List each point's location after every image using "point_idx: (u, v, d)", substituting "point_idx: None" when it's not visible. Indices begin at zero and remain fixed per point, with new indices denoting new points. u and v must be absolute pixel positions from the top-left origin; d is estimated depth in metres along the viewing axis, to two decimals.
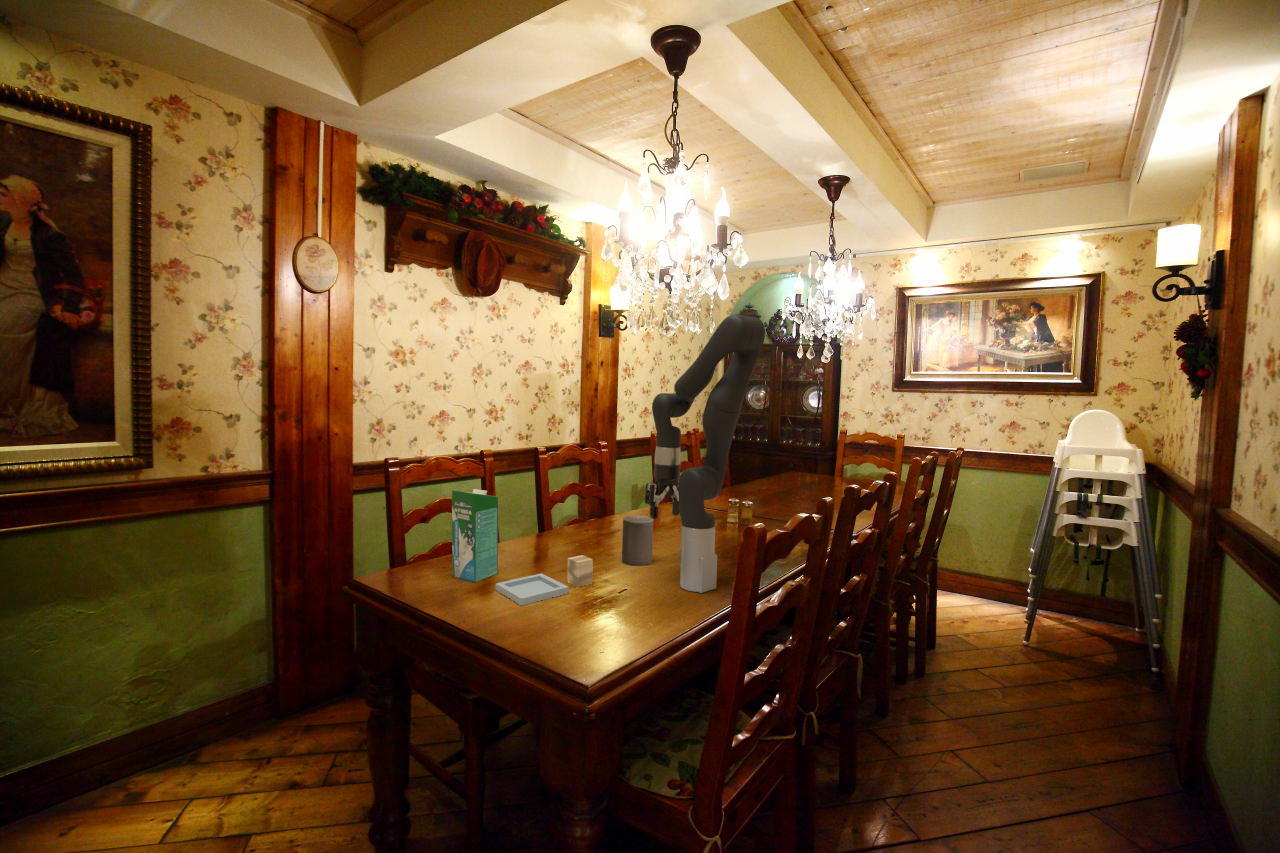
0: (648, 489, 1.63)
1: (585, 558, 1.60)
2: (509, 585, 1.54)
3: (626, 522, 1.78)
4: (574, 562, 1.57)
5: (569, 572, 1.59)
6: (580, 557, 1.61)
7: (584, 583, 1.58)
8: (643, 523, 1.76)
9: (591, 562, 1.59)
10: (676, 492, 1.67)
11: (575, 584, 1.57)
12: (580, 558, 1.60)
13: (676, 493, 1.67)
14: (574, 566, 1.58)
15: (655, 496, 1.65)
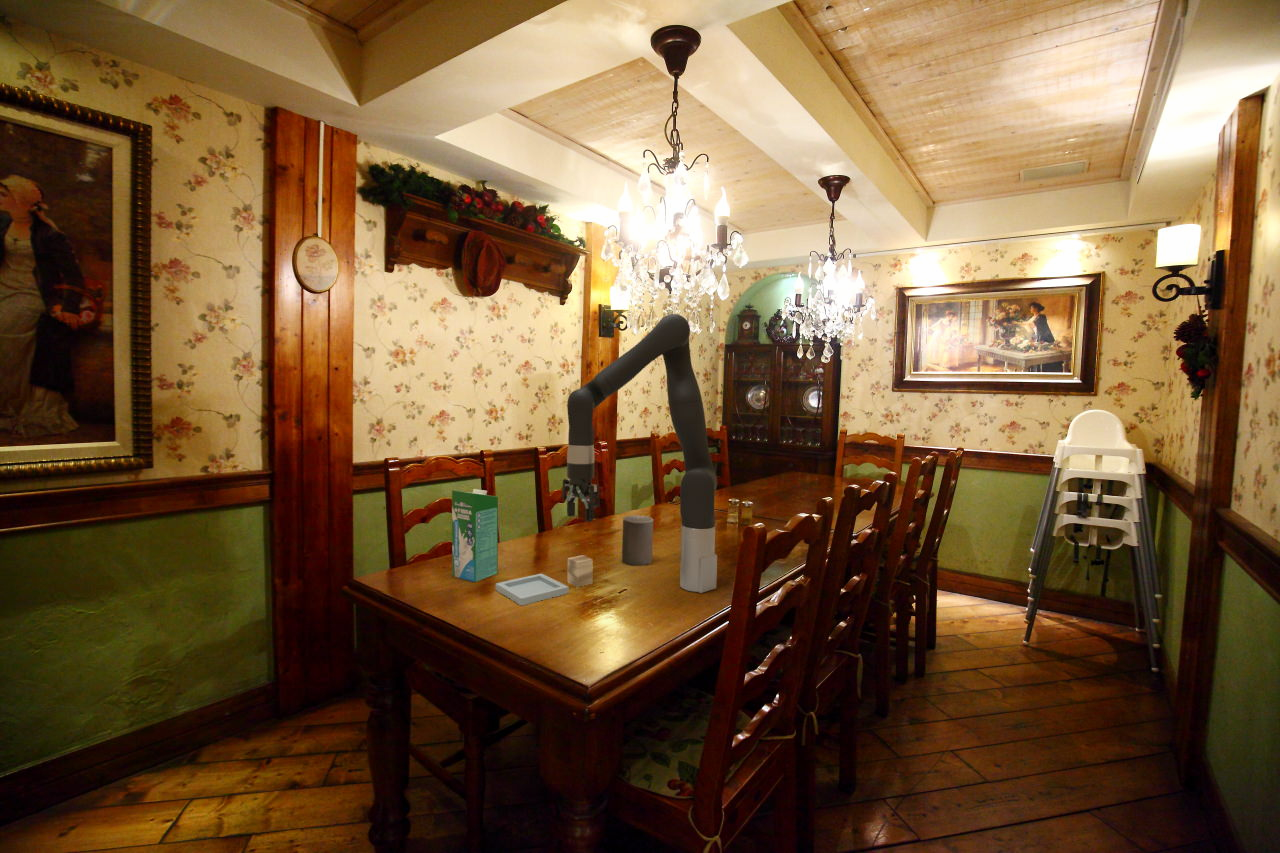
0: (595, 491, 1.54)
1: (585, 558, 1.60)
2: (509, 585, 1.54)
3: (626, 522, 1.78)
4: (574, 562, 1.57)
5: (569, 572, 1.59)
6: (580, 557, 1.61)
7: (584, 583, 1.58)
8: (643, 523, 1.76)
9: (591, 562, 1.59)
10: None
11: (575, 584, 1.57)
12: (580, 558, 1.60)
13: None
14: (574, 566, 1.58)
15: (588, 498, 1.57)
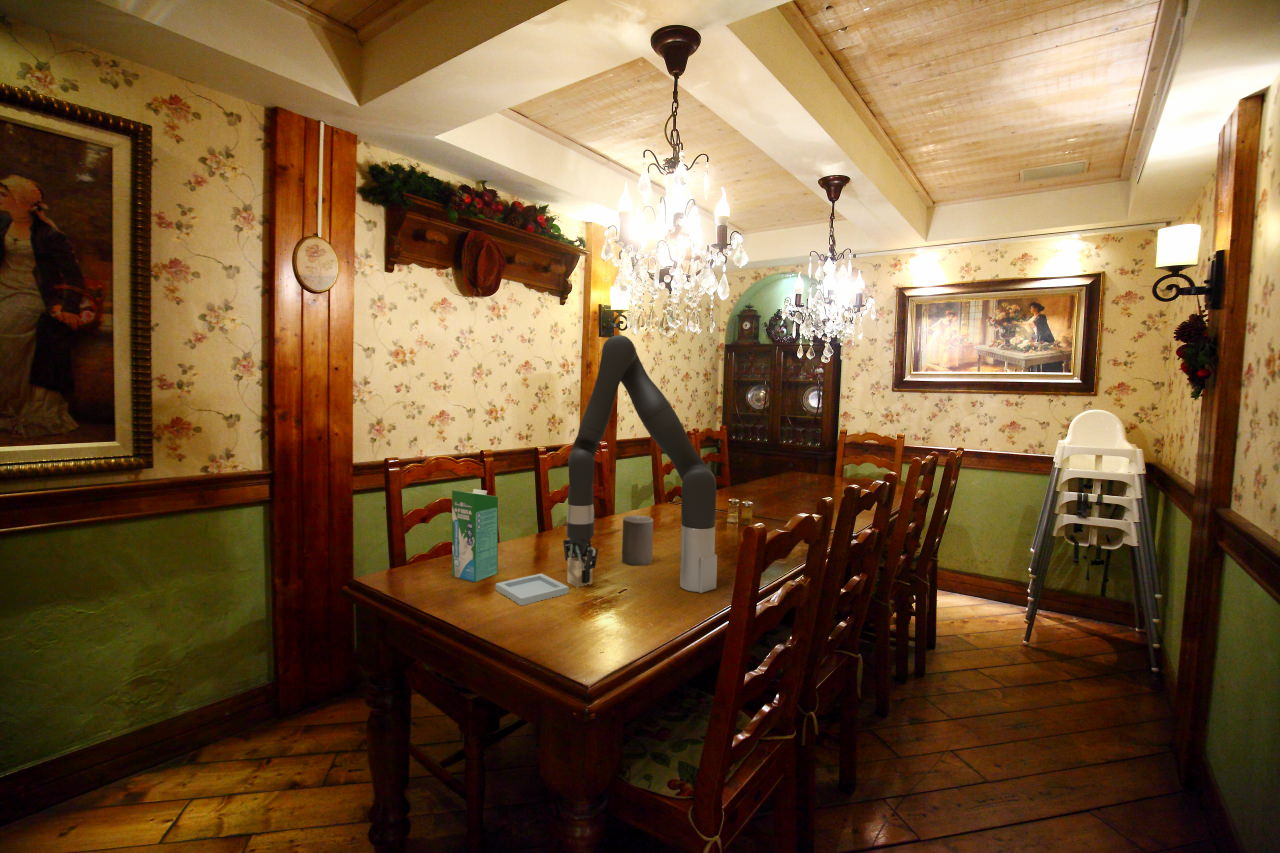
0: (593, 555, 1.55)
1: None
2: (509, 585, 1.54)
3: (626, 522, 1.78)
4: (574, 561, 1.57)
5: (569, 572, 1.59)
6: None
7: (584, 583, 1.58)
8: (643, 523, 1.76)
9: (591, 562, 1.59)
10: None
11: (575, 584, 1.57)
12: None
13: None
14: (574, 566, 1.58)
15: (585, 559, 1.57)
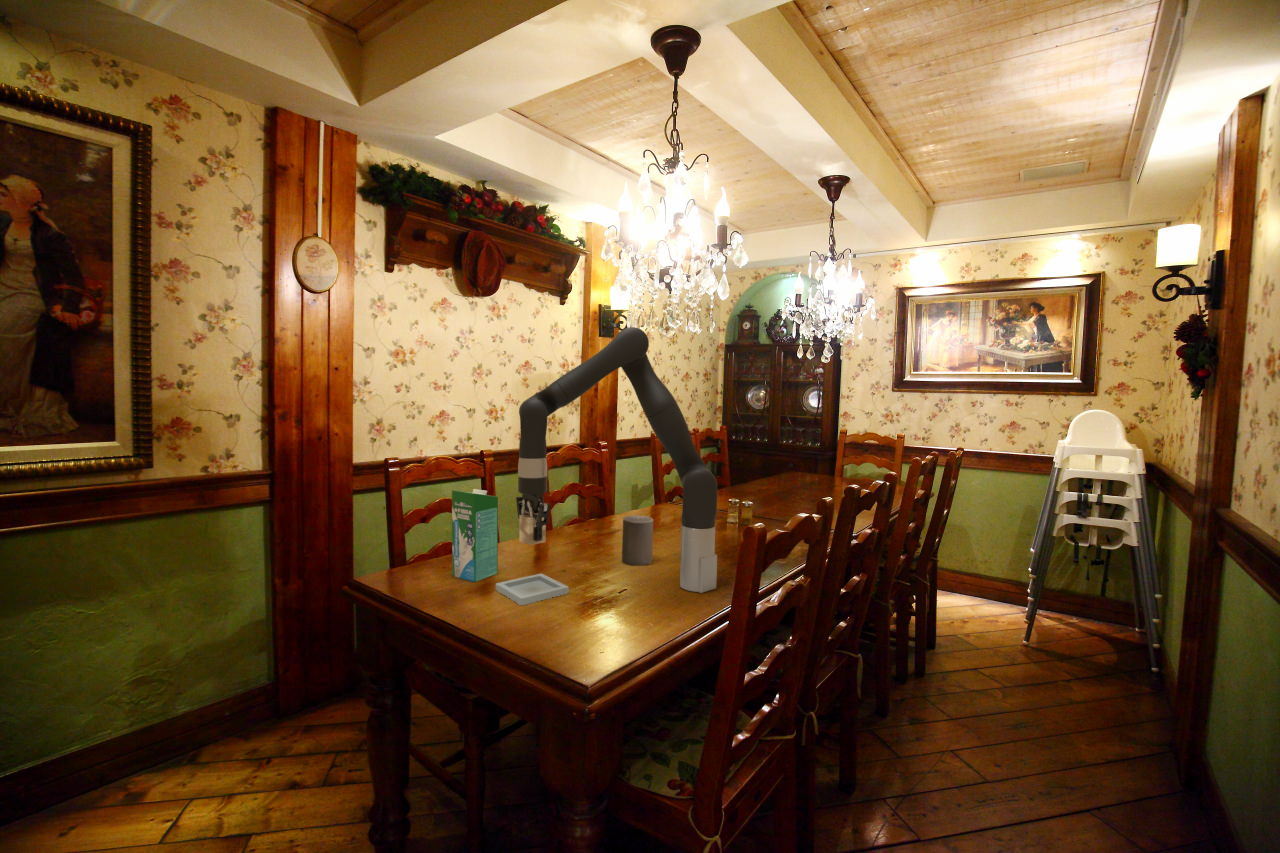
0: (544, 510, 1.46)
1: None
2: (509, 585, 1.54)
3: (626, 522, 1.78)
4: (525, 518, 1.49)
5: (521, 529, 1.51)
6: None
7: (536, 541, 1.50)
8: (643, 523, 1.76)
9: None
10: None
11: (526, 542, 1.49)
12: None
13: None
14: (525, 523, 1.49)
15: (537, 515, 1.49)
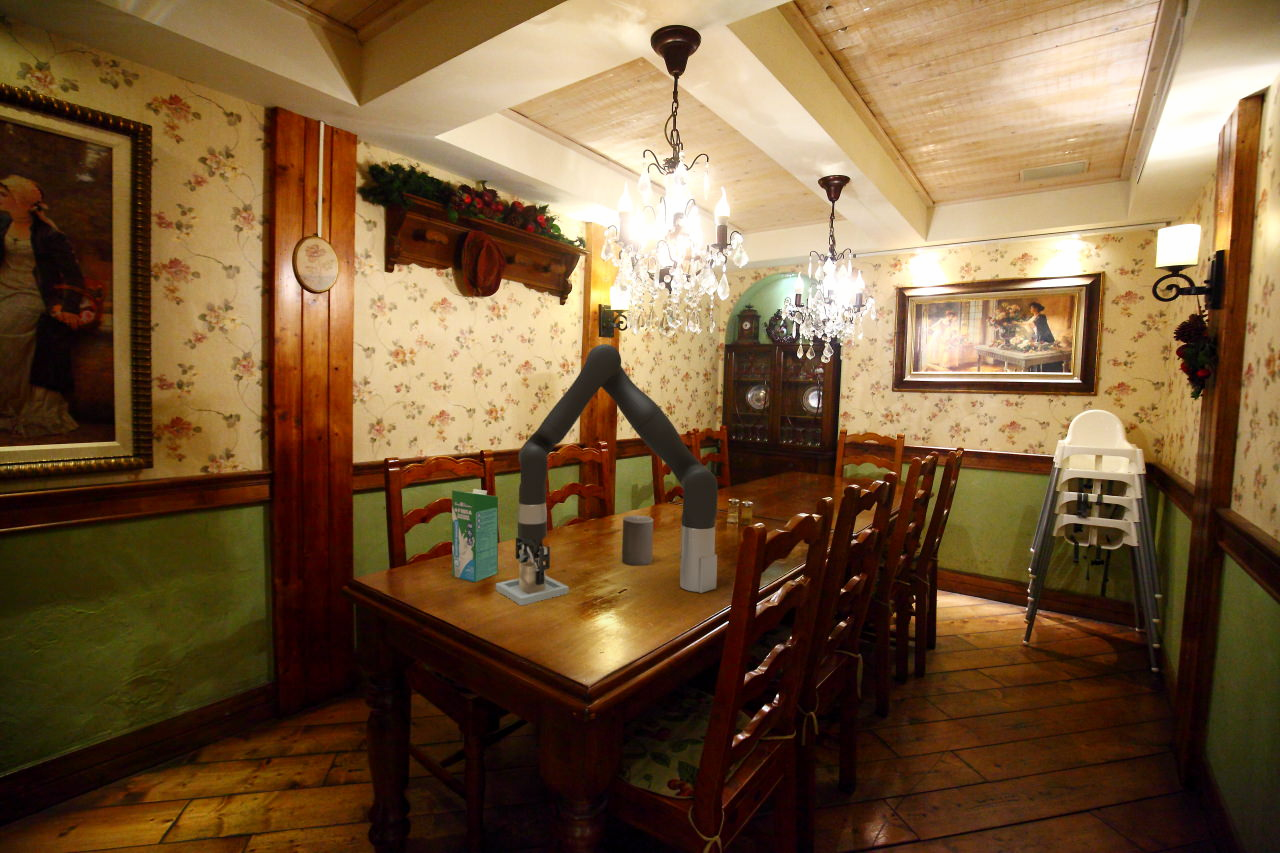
0: (545, 553, 1.47)
1: (538, 563, 1.52)
2: (509, 585, 1.54)
3: (626, 522, 1.78)
4: (525, 567, 1.50)
5: (521, 578, 1.52)
6: None
7: (536, 589, 1.50)
8: (643, 523, 1.76)
9: None
10: None
11: (526, 591, 1.50)
12: (532, 563, 1.53)
13: None
14: (525, 572, 1.50)
15: (538, 559, 1.49)
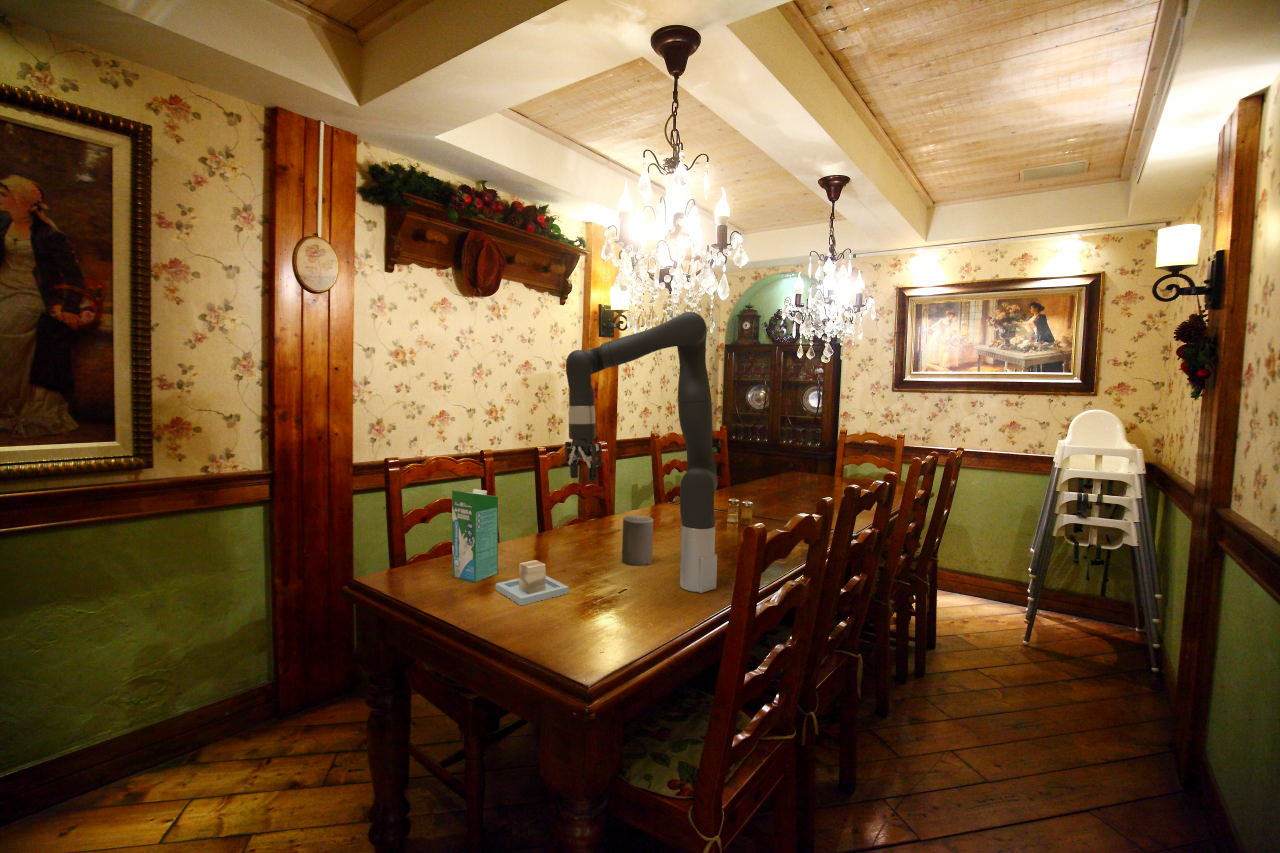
0: (597, 450, 1.56)
1: (538, 563, 1.52)
2: (509, 585, 1.54)
3: (626, 522, 1.78)
4: (525, 567, 1.50)
5: (521, 578, 1.52)
6: (533, 562, 1.53)
7: (536, 589, 1.50)
8: (643, 523, 1.76)
9: (544, 567, 1.52)
10: None
11: (526, 591, 1.50)
12: (532, 563, 1.53)
13: None
14: (525, 572, 1.50)
15: (590, 457, 1.58)
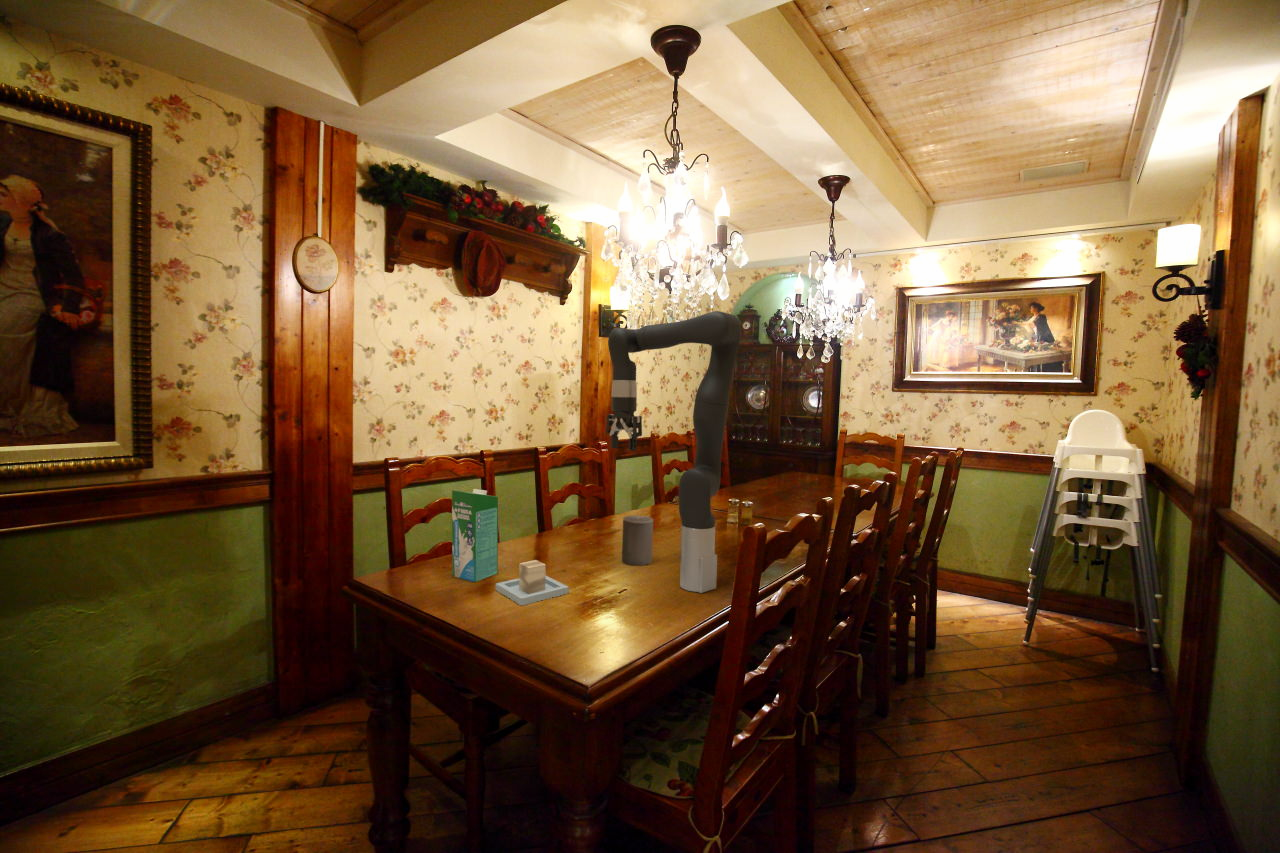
0: (638, 421, 1.67)
1: (538, 563, 1.52)
2: (509, 585, 1.54)
3: (626, 522, 1.78)
4: (525, 567, 1.50)
5: (521, 578, 1.52)
6: (533, 562, 1.53)
7: (536, 589, 1.50)
8: (643, 523, 1.76)
9: (544, 567, 1.52)
10: None
11: (526, 591, 1.50)
12: (532, 563, 1.53)
13: None
14: (525, 572, 1.50)
15: (631, 429, 1.69)
